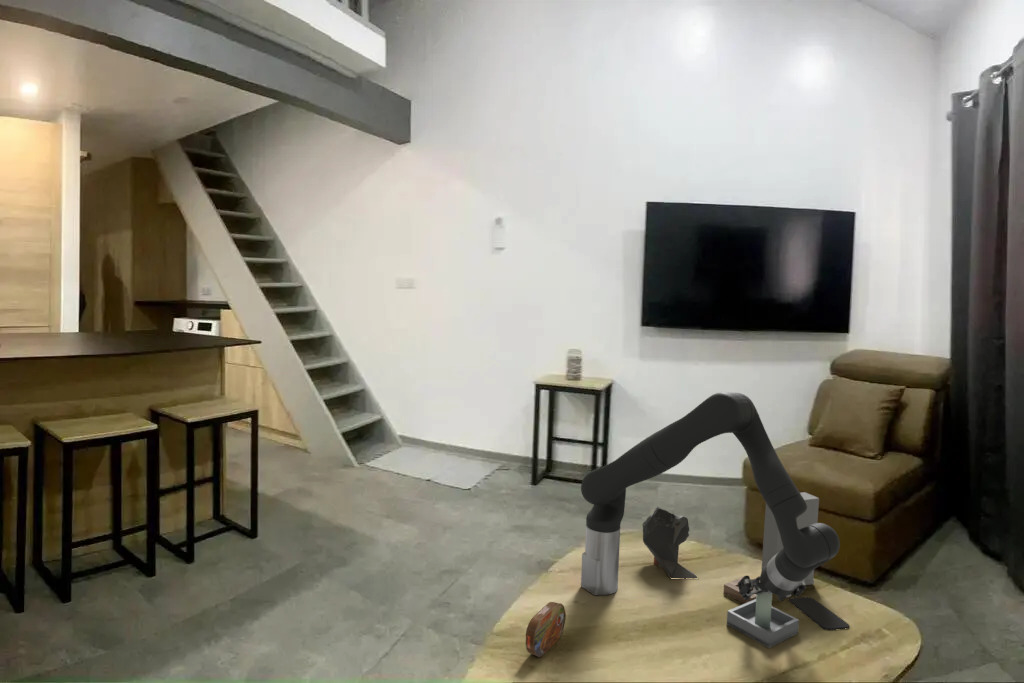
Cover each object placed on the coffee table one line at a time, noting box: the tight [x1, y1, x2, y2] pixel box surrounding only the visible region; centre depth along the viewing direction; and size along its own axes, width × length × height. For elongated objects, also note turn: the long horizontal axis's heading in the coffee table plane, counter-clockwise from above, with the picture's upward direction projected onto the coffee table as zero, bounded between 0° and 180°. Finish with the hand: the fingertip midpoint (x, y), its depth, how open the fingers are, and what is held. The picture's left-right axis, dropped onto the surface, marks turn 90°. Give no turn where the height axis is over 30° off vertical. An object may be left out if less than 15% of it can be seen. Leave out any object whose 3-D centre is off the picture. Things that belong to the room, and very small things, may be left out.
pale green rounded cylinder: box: [755, 588, 773, 629], centre depth 149 cm, size 4×4×10 cm
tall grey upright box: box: [760, 491, 820, 586], centre depth 172 cm, size 14×6×25 cm, turn 108°
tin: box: [525, 601, 567, 658], centre depth 140 cm, size 15×3×8 cm, turn 148°
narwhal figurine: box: [642, 506, 698, 580], centre depth 181 cm, size 14×15×18 cm
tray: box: [726, 599, 800, 649], centre depth 149 cm, size 12×12×4 cm
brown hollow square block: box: [723, 576, 756, 604], centre depth 165 cm, size 9×9×2 cm
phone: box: [788, 596, 850, 631], centre depth 157 cm, size 7×1×15 cm
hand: (761, 596), depth 150 cm, fingers open, 8 cm apart
